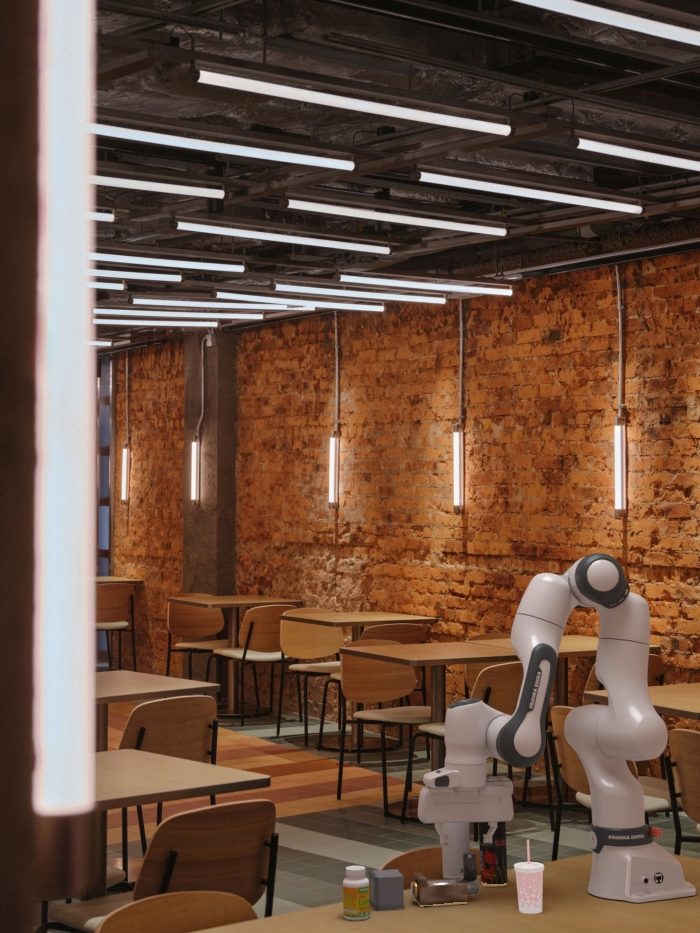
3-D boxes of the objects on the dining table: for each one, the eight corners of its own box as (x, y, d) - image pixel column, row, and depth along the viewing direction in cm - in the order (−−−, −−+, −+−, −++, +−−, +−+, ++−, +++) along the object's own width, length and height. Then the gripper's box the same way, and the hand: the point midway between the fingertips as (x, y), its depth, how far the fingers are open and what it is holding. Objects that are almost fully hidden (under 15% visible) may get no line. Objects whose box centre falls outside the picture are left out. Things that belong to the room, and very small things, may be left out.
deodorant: (513, 884, 266) (510, 814, 268) (492, 888, 263) (490, 818, 264) (495, 879, 271) (493, 810, 273) (475, 883, 268) (472, 814, 269)
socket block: (397, 900, 255) (397, 869, 255) (404, 908, 248) (403, 876, 249) (369, 902, 254) (369, 871, 254) (375, 910, 247) (374, 878, 248)
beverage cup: (550, 913, 242) (547, 841, 244) (520, 915, 241) (518, 843, 243) (540, 905, 248) (537, 835, 250) (511, 907, 247) (509, 837, 249)
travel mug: (471, 884, 267) (468, 791, 269) (441, 883, 268) (438, 791, 270) (473, 877, 273) (470, 787, 275) (444, 877, 275) (442, 787, 277)
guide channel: (460, 896, 257) (459, 869, 257) (467, 904, 251) (466, 876, 251) (414, 899, 255) (413, 872, 256) (420, 907, 249) (419, 879, 250)
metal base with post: (475, 891, 256) (474, 852, 257) (479, 895, 253) (478, 855, 254) (410, 896, 254) (409, 856, 254) (414, 900, 250) (413, 859, 251)
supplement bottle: (361, 922, 239) (360, 871, 240) (338, 918, 242) (337, 869, 243) (375, 915, 244) (373, 866, 245) (352, 912, 247) (351, 863, 248)
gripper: (508, 773, 261) (509, 839, 260) (415, 775, 258) (416, 842, 257) (517, 777, 255) (518, 845, 253) (422, 779, 252) (422, 848, 250)
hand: (466, 843), depth 255 cm, fingers open, 8 cm apart
